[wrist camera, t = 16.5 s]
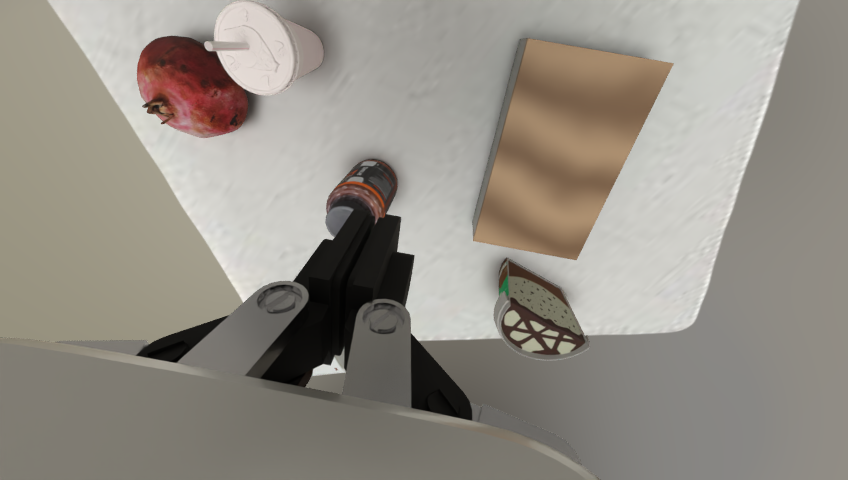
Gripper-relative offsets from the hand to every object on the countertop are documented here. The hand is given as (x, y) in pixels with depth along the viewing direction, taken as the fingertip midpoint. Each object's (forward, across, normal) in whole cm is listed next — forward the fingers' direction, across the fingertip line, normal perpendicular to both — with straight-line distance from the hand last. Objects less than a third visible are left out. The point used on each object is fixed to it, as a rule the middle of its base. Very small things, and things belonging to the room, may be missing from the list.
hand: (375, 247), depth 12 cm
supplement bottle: (+27, +6, +9) cm, 29 cm away
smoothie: (+27, +14, -4) cm, 31 cm away
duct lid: (+23, -13, +2) cm, 26 cm away
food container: (+27, -16, +21) cm, 38 cm away
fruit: (+27, +24, +1) cm, 36 cm away
